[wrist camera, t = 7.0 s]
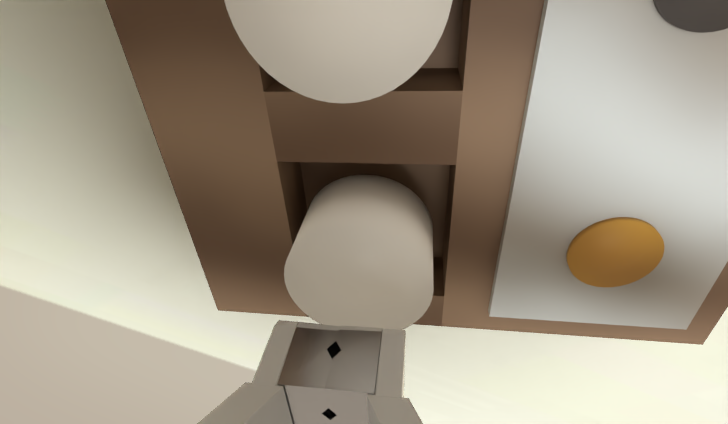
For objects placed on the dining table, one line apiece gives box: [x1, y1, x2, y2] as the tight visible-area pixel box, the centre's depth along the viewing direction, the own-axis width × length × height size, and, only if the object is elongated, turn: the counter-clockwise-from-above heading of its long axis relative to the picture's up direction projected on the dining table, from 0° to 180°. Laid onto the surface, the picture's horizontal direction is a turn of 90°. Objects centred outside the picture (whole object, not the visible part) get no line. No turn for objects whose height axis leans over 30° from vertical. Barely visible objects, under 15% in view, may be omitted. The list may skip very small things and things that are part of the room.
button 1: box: [284, 175, 434, 330], centre depth 12 cm, size 4×4×2 cm
